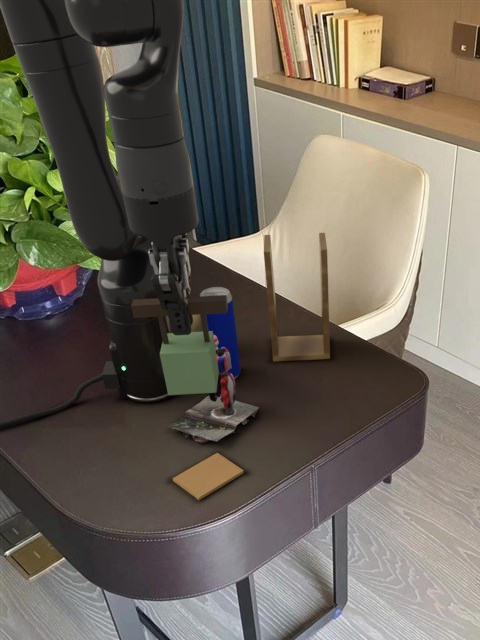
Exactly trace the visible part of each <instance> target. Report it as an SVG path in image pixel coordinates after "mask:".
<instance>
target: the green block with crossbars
mask: <svg viewBox="0 0 480 640" xmlns="http://www.w3.org/2000/svg"><path fill="white" fill-rule="evenodd" d="M187 299H188V304H187V306H188V312H189V315H200V316H201V322H202V329H203V332H191V333H190V334H189V335H178V336H176V335H174V334H173V333H172V332H171V333H167V330H166V325H165V320H164V316H168V317H169V312H168V310H163V309H162V307H161V304H160V301H159V299H158V298H156V299H136V300H133V302H132V305H131V308H132V312H133V316H134V318H141V317H158V320H159V324H160V329H161V334H162V339H163V343H162V347H161V351H160V357H161V362H162V367H163V372H164V377H165V381H166V386H167V391H168V395H172V396H178V395H179V396H181V395H198V394H208V393H216V392H217V383H218V374H219V370H218V363H217V356H216V350H215V343H214V337H213V331H208V325H207V318H206V314H221V313H227V312H228V303H227V295H218V296H200V295H199V296H197V295H196V296H189V297H187Z"/></svg>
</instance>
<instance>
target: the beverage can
mask: <svg viewBox="0 0 480 640" xmlns="http://www.w3.org/2000/svg"><path fill="white" fill-rule="evenodd" d="M218 295H227V303H228V312H227V313H221V314H206V318H207V325H208V331H213V335H216V336H217V338H218V342H219V344H218V346H217V347H218V348H220V349H221V348H222V347H225V348H226V349H228V350H229V353H230V358H231V369H230V370H228V371H227V372H229V373H231V374H232V375H233V377H234V379H235V380H236V379H237V378H238V377H239V376H240V374H241V372H242V368H241V360H240V350H239V344H238V343H239V342H238V335H237V326H236V318H235V310H234V302H233V300H234V299H233V296H232V294H231V291H230V290H229V289H228V288H226V287H222V286H212V287H207V288H205V289H203V290H202V291H201V292H200V294H199V296H218Z"/></svg>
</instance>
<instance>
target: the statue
mask: <svg viewBox="0 0 480 640" xmlns="http://www.w3.org/2000/svg"><path fill="white" fill-rule="evenodd" d="M213 337H214V343H215V350H216V356H217V363H218V370H219V374H218V383H217V392H216V393H207V396H206V397H204V398H203V399H202V400H201V401H200V402H198V403H197V404H195V405H194V406H192V407H191V408H189V409H187V410H186V411H185V412H184V416H183V417H181V418H179V419H178V420H176V421H174V422H173V423H171V424H169V425H167V428H170V429H171V430H176V431H178V432H179V431H180V432H182V435H183V437H184V438H188V437H189V435H191V436H192V439H193V440H194V441H195V442H199V444H201V443H202V444H203V443H209V442H210V441H213V442H218V441H220V440H221V439H222V438H225V437H226V436H228V435H229V434H233V433H234V434H236V431H235V430H236V429H237V425H239V424H240V423H241V424H242V425H244V426H245V425H246V424H247V423H248V422H249V421H250V419H247V418H249V417H250V416H251V417H252V418H255V417H256V416H255V415H257V414H256V413H257V412H258V410H259V409H260V407H259V406H255V405H252V404H248V403H245V402H241V401H239V400H236V378H235V379H234V377H233V375H232V374H231V373H229V372H227V371H228V370H230V369H231V358H230V353H229V350H228V349H226V348H225V347H222V348H221V349H220V348H218V347H217V346H218V344H219V342H218V338H217V336H216V335H213ZM209 444H212V442H210V443H209Z"/></svg>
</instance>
